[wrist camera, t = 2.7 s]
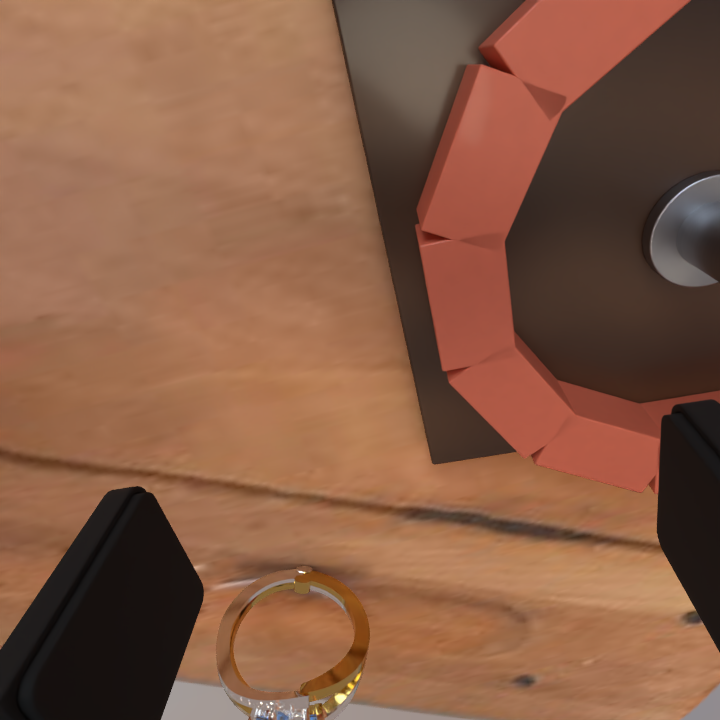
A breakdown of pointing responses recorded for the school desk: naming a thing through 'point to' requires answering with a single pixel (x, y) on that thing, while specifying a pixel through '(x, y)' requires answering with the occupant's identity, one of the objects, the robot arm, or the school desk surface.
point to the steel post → (686, 232)
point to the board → (549, 204)
